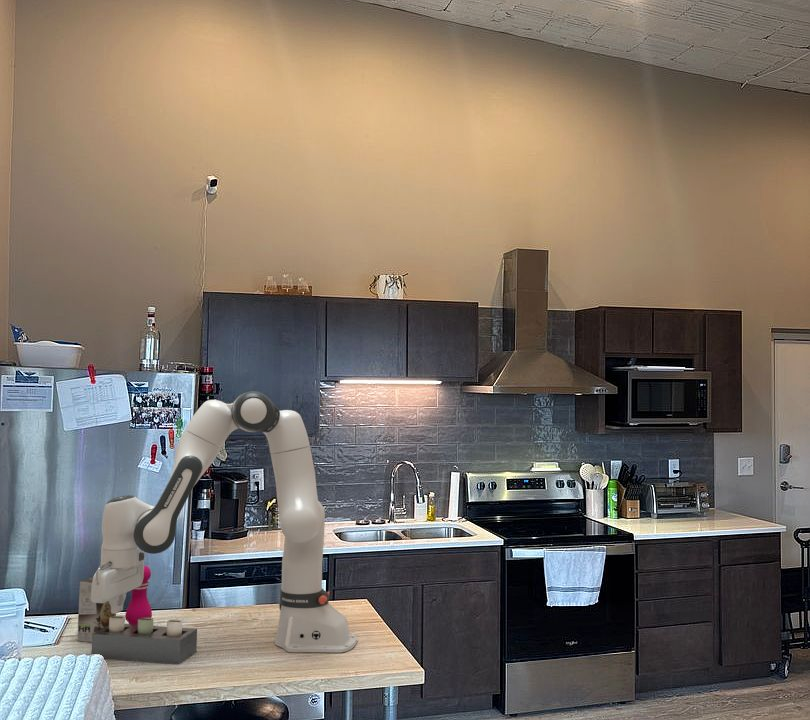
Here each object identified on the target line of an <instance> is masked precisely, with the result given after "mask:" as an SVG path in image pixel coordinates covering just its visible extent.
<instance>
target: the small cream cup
mask: <svg viewBox="0 0 810 720" xmlns="http://www.w3.org/2000/svg"><path fill="white" fill-rule="evenodd" d="M125 621H126V619H125V615H116V616H112V617H110V618H109V632H117V633H121V632H123V631H124V629H125V624H126V622H125Z"/></svg>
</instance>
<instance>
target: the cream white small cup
mask: <svg viewBox="0 0 810 720" xmlns="http://www.w3.org/2000/svg"><path fill="white" fill-rule="evenodd" d="M166 627H167V636H174V637H180V636H181V635H182V628H183V620H182V619H178V618H177V619H176V618H175V619H170V620H167V621H166Z"/></svg>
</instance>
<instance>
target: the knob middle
mask: <svg viewBox="0 0 810 720" xmlns="http://www.w3.org/2000/svg"><path fill="white" fill-rule="evenodd" d="M153 626H154V618H153V617H151V618H140V619H138V634H146V635H150V634H152V633H153Z"/></svg>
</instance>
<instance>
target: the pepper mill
mask: <svg viewBox="0 0 810 720" xmlns="http://www.w3.org/2000/svg"><path fill="white" fill-rule="evenodd" d="M151 576H152V571H151V569H150V567H149V566H147V565H145V564H144V575H143V582H142V584H141V586H140V587H137V588H135V589H133V590H131V597H130V602H129V604H128V605H127V608H126V611H125V615H124V617H125V621H126V622H128V623H127V624H135V625H138V619H140V618H153V617H152V616H153V613H152V612H153V611H152V608H151V605H150V602H149V600H148V596H147V595H148V588H149V585H150V582H149V580H150V578H151Z"/></svg>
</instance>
